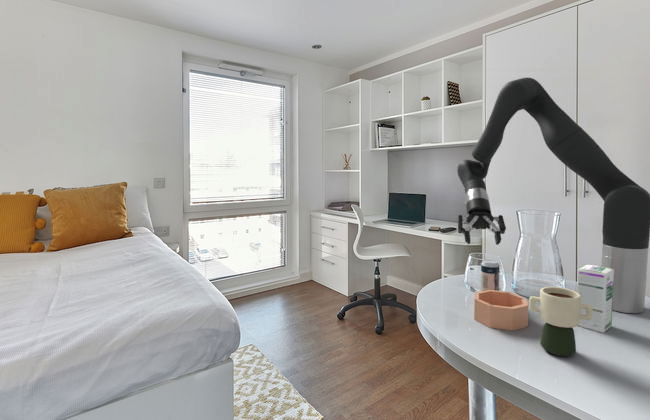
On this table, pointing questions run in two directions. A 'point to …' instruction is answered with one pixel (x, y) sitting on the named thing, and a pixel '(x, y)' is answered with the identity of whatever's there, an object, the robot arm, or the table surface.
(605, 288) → the syrup box
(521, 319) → the terracotta bowl
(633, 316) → the table surface
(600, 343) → the table surface
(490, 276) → the beer can
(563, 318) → the character mug
